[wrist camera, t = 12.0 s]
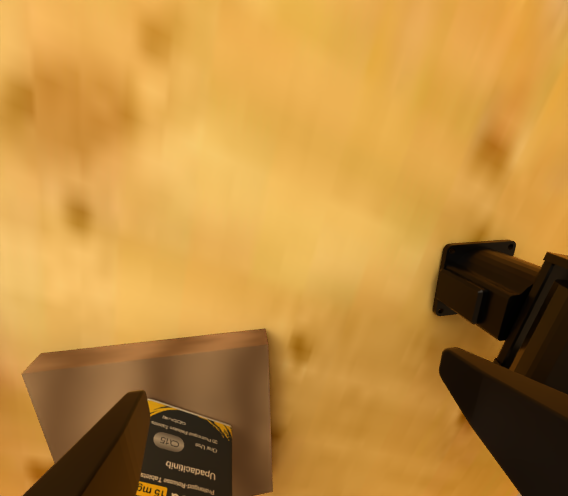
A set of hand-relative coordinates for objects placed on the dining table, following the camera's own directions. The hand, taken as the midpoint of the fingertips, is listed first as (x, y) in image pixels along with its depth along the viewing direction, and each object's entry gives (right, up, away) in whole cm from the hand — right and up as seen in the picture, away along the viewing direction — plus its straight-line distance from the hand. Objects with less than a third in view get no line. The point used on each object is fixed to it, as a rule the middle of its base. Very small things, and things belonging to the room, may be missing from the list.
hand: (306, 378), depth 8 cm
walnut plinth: (-10, -11, +16) cm, 21 cm away
